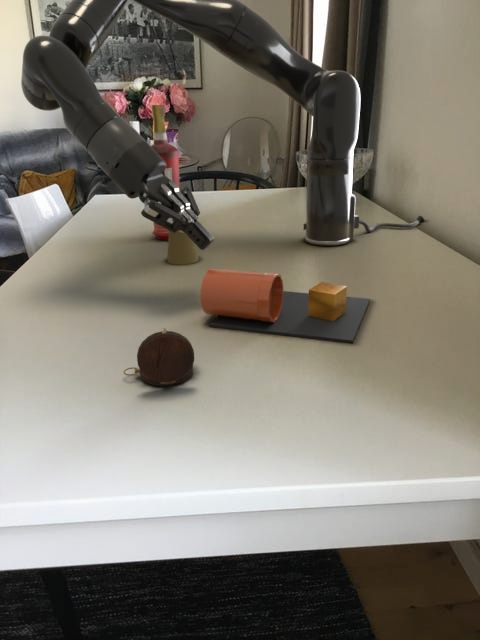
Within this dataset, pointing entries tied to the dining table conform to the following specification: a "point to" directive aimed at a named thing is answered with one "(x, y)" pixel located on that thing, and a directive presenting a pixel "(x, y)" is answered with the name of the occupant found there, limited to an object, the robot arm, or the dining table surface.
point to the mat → (303, 320)
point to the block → (327, 301)
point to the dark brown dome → (164, 358)
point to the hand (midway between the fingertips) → (208, 245)
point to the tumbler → (242, 294)
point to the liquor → (164, 158)
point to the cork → (181, 249)
